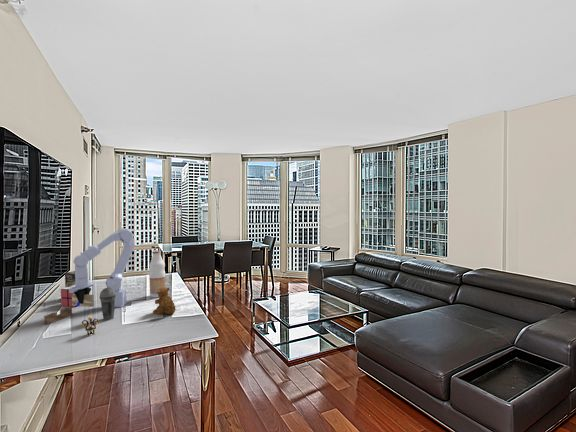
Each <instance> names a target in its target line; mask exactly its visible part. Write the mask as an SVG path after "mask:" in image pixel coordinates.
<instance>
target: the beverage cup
mask: <svg viewBox="0 0 576 432" xmlns="http://www.w3.org/2000/svg"><path fill="white" fill-rule="evenodd" d="M106 281H107V286H106V288H105V287H104V289H102V290H101V291H100V293H99V300H100V304H101V305H100V306H101V311H102V313H101V314H102V318H103V320H104V321H110V320H113V319H114V318H115V308H116V307H115V297H116V294H115V291H114V290H113V289H112V288H108V278H106Z"/></svg>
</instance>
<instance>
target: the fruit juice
mask: <svg viewBox="0 0 576 432" xmlns="http://www.w3.org/2000/svg"><path fill="white" fill-rule="evenodd" d="M151 253H152V258H151V260H150V262H149V266H148V268H149V277H148V278H149V295H150V296H149V297H151V298H153V299H154V298H159V296H158V293H157V292H158V290H159V289H160V288H162V287H165V288H167V283H166V282H167V281H166V280H167V278H166V276H167V275H166V271H165V267H166V263H165V261H164V260H163V258H162V255H161V254H162V251H161V250H153V251H152V252H151ZM156 293H157V294H156ZM155 294H156V295H155Z"/></svg>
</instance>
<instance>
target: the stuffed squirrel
mask: <svg viewBox="0 0 576 432" xmlns="http://www.w3.org/2000/svg"><path fill="white" fill-rule="evenodd" d="M169 290H170V287H166V288H165V287H162V288H160V289H159V290H158V292H157V293H158V296H159V297H158V299H155V301H154V303H155V305H157V307H156V309H153V311H152V313H153V314H156V315H164V314H165V315H167V316H168V315H173V314H174V313H175V312H176V310H177V309H176V305H175V302H174V300H173V299H172V298H173V297H171V296H170V295H169V292H170V291H169ZM157 293H156V294H157ZM156 294H155V295H156Z"/></svg>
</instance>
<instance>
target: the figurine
mask: <svg viewBox="0 0 576 432" xmlns="http://www.w3.org/2000/svg"><path fill="white" fill-rule="evenodd" d="M87 319H88V320H86V319H83V320H82V321H81V325H82V327H84V331H85V332H86V335H87V334H90V335H91V334H93V335H95V334H94V333H95V330H97V329H98V328H97V326H96V325H98V324H99V321H100V320H99V318H94V319H93V317H92V316H89V317H88V318H87ZM85 322H86V323H85ZM93 326H94V327H93ZM92 332H93V333H92Z"/></svg>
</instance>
